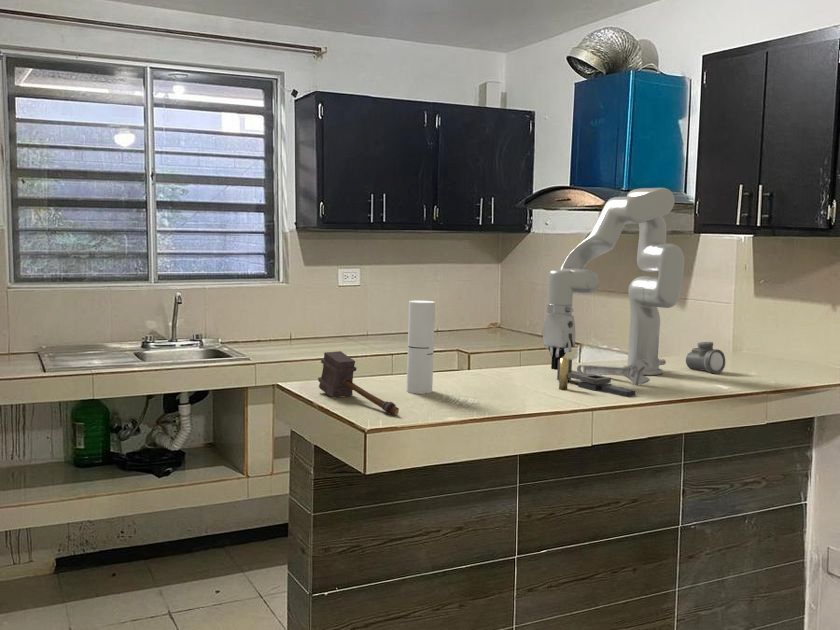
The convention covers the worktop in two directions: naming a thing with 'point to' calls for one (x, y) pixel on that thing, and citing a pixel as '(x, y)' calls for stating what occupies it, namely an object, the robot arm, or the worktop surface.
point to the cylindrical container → (420, 346)
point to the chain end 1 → (583, 375)
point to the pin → (563, 373)
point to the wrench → (621, 371)
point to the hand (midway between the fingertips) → (556, 369)
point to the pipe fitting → (706, 358)
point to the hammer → (346, 380)
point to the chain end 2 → (607, 388)
